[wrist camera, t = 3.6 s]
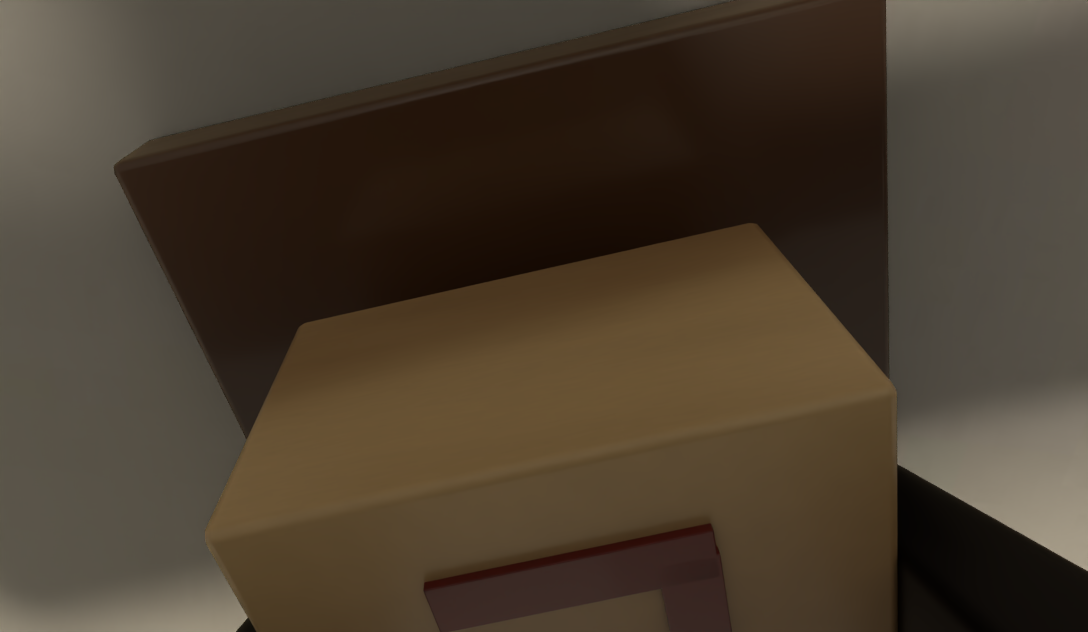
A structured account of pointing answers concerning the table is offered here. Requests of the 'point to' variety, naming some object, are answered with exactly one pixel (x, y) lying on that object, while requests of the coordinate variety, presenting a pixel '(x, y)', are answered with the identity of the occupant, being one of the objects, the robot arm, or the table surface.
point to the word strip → (532, 176)
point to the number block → (575, 458)
